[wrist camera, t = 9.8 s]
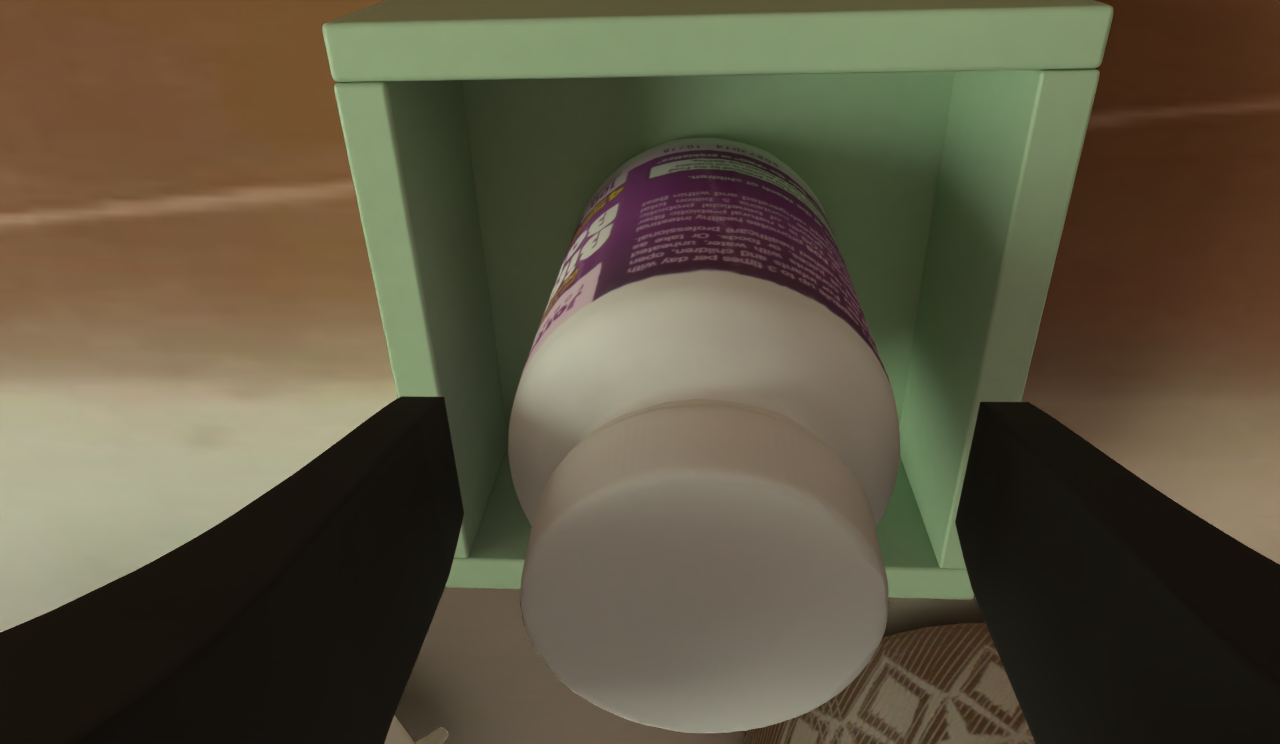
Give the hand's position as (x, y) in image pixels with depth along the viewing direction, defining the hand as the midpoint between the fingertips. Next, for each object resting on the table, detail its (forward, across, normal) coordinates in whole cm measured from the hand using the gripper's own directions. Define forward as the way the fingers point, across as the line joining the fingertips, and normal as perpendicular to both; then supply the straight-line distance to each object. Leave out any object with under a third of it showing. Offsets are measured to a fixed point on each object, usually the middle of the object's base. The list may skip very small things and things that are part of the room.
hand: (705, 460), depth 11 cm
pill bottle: (+7, 0, 0) cm, 7 cm away
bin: (+7, 0, 0) cm, 7 cm away
